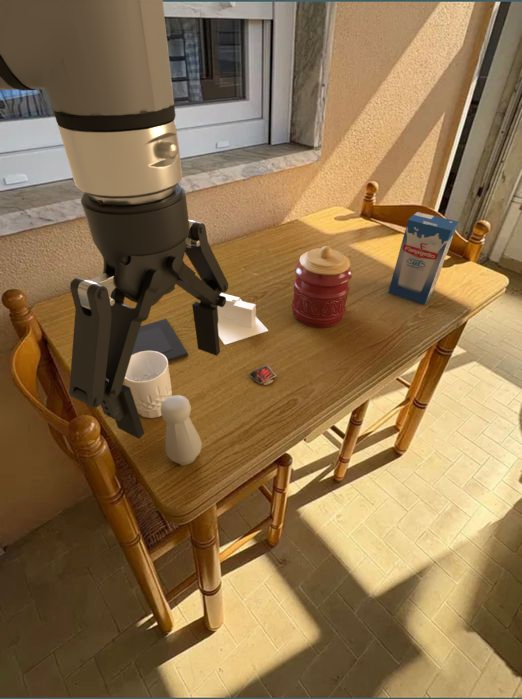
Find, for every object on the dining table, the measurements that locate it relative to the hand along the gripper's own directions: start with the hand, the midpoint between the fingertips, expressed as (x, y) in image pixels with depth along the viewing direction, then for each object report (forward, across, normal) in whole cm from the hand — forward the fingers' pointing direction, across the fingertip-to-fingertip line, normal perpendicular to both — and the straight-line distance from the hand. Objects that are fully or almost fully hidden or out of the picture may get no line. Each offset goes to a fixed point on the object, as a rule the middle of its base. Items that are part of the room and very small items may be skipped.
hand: (174, 386), depth 42 cm
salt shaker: (+24, +5, +6) cm, 26 cm away
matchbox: (+24, +27, +3) cm, 37 cm away
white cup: (+24, +11, +18) cm, 32 cm away
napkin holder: (+24, +41, +18) cm, 51 cm away
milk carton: (+25, +74, -17) cm, 80 cm away
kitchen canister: (+24, +54, +2) cm, 59 cm away
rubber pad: (+24, +23, +30) cm, 45 cm away
